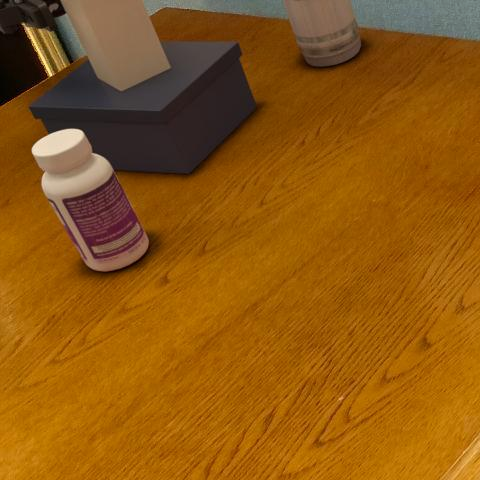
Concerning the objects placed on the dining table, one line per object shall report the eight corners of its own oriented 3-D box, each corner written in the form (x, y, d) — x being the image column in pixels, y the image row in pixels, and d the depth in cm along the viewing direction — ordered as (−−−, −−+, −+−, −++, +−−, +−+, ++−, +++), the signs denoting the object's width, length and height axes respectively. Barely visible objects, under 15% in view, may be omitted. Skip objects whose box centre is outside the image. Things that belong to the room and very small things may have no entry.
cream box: (97, 78, 90) (39, -43, 82) (146, 55, 92) (93, -65, 84) (121, 91, 87) (63, -32, 80) (171, 68, 89) (118, -55, 81)
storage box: (61, 169, 93) (27, 106, 88) (139, 102, 100) (111, 41, 95) (190, 176, 88) (160, 110, 83) (261, 105, 95) (238, 41, 90)
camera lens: (366, 35, 102) (343, -48, 96) (360, 62, 98) (336, -23, 92) (307, 45, 103) (280, -37, 97) (298, 72, 99) (270, -12, 93)
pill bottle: (163, 236, 82) (107, 122, 74) (130, 274, 78) (68, 160, 71) (108, 234, 83) (48, 123, 76) (73, 272, 80) (7, 160, 73)
